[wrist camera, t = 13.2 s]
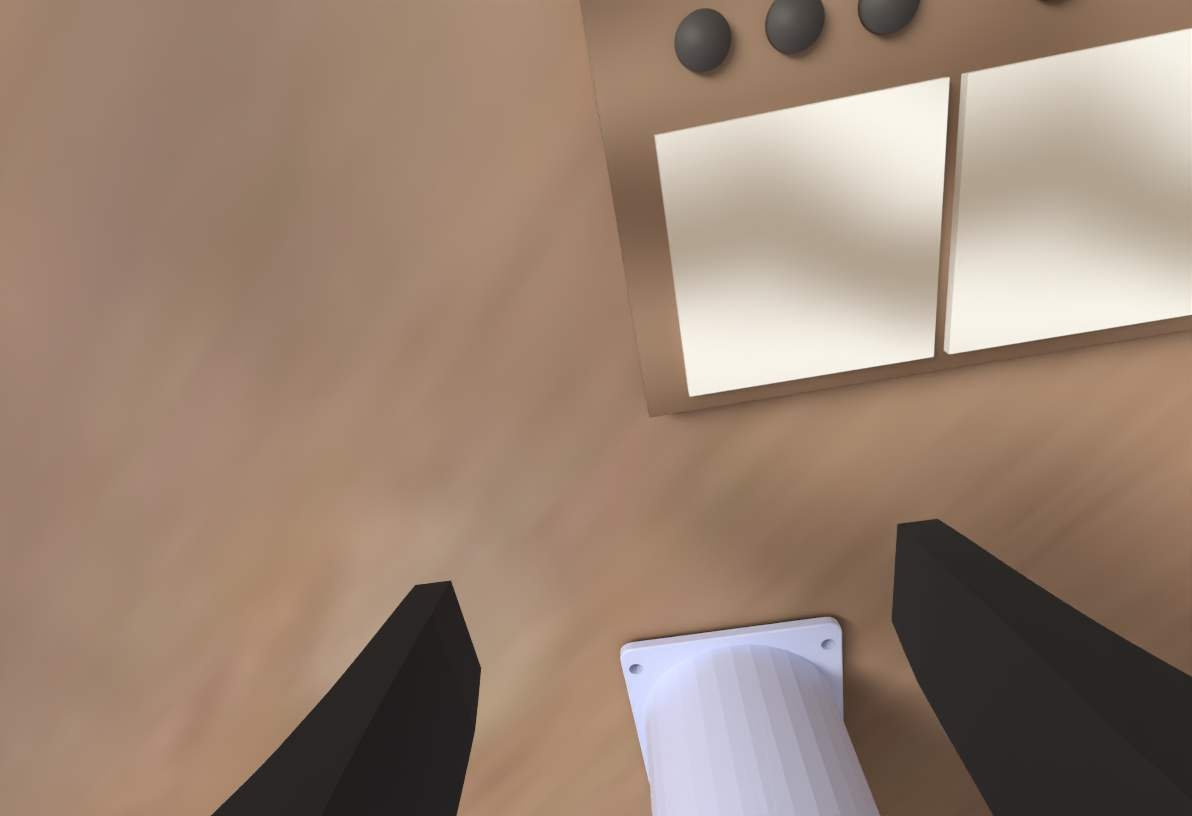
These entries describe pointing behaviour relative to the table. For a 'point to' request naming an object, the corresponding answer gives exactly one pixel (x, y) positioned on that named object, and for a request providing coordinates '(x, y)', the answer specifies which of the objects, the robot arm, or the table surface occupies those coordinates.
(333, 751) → the robot arm
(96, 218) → the table surface
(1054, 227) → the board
